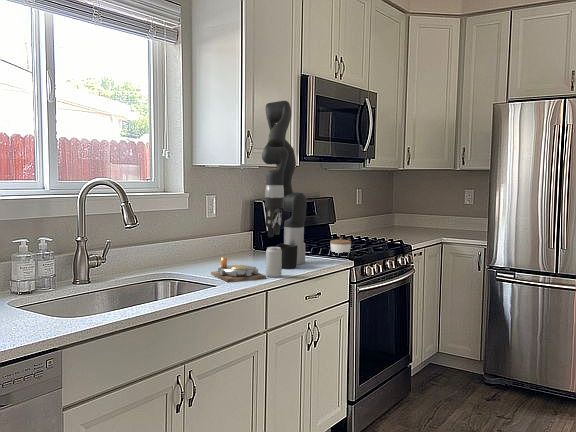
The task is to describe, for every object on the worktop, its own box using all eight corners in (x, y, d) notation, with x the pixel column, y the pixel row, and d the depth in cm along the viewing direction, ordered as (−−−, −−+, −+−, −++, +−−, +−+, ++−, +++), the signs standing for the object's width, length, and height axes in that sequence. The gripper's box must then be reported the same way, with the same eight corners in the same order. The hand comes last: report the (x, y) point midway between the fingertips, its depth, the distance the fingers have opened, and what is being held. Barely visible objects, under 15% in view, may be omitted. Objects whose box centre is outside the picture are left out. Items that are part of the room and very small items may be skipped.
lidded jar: (326, 254, 286) (326, 237, 285) (343, 253, 291) (343, 236, 290) (337, 258, 277) (337, 239, 276) (354, 256, 282) (355, 238, 281)
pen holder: (293, 265, 254) (293, 243, 253) (300, 268, 245) (300, 246, 244) (273, 266, 251) (274, 244, 250) (279, 269, 242) (280, 247, 241)
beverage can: (268, 278, 223) (268, 248, 222) (264, 275, 229) (264, 246, 228) (283, 277, 225) (283, 248, 224) (279, 274, 231) (279, 246, 230)
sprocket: (223, 268, 234) (223, 254, 234) (261, 270, 232) (261, 256, 232) (213, 275, 218) (213, 260, 218) (253, 277, 216) (253, 262, 216)
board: (248, 271, 237) (248, 268, 237) (266, 278, 222) (266, 275, 222) (210, 274, 229) (210, 271, 228) (226, 282, 214) (226, 279, 214)
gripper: (271, 195, 232) (270, 233, 233) (260, 196, 218) (259, 237, 220) (288, 195, 230) (287, 234, 231) (278, 197, 216) (277, 238, 218)
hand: (273, 235), depth 226 cm, fingers open, 8 cm apart
